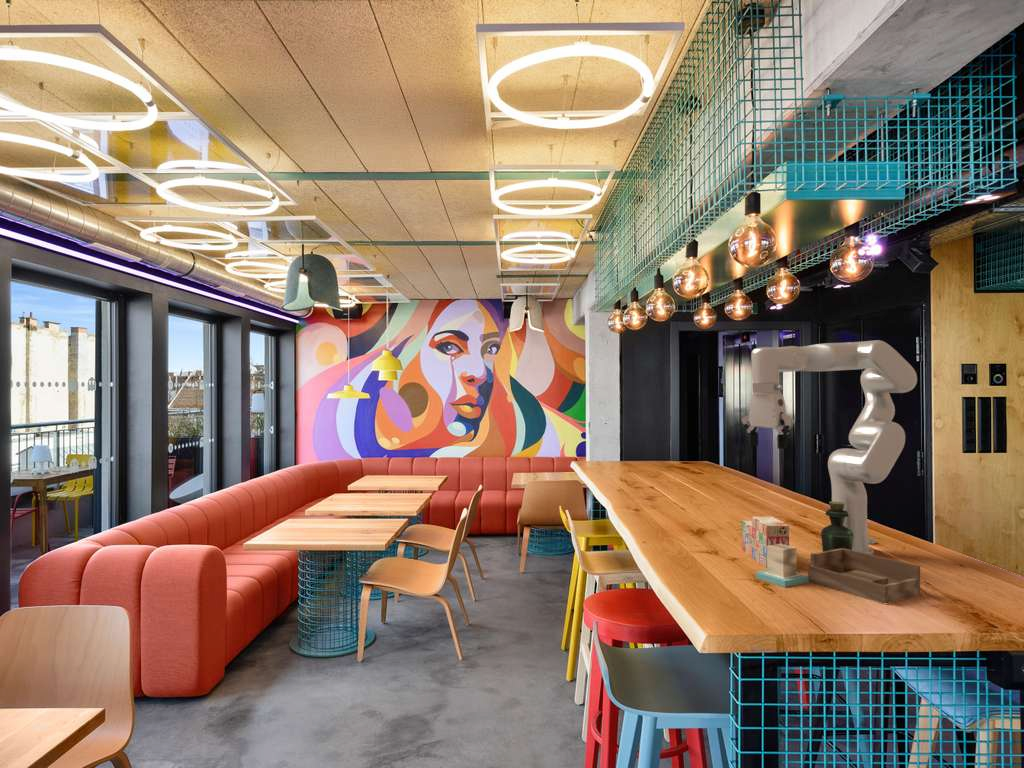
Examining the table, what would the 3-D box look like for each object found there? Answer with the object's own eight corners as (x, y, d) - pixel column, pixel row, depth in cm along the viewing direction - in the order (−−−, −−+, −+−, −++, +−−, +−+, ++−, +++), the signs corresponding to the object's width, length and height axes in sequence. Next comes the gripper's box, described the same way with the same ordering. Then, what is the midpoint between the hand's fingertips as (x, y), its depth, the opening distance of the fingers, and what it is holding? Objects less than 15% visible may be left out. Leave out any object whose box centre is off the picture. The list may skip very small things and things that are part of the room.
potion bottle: (815, 563, 179) (815, 500, 180) (843, 563, 179) (843, 500, 180) (830, 571, 171) (829, 505, 172) (859, 571, 171) (859, 505, 172)
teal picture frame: (778, 573, 169) (778, 567, 169) (808, 582, 161) (808, 575, 161) (755, 577, 165) (755, 571, 165) (784, 587, 157) (784, 580, 157)
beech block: (780, 570, 167) (780, 543, 167) (796, 575, 162) (796, 547, 162) (767, 572, 164) (767, 545, 164) (783, 577, 160) (783, 549, 160)
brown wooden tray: (842, 574, 169) (842, 548, 169) (920, 595, 151) (920, 565, 151) (808, 581, 162) (807, 554, 162) (885, 604, 144) (885, 573, 144)
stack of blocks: (741, 550, 195) (741, 510, 195) (762, 550, 195) (762, 510, 195) (766, 569, 174) (766, 524, 174) (789, 569, 174) (789, 524, 174)
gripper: (800, 388, 180) (802, 448, 179) (750, 389, 195) (751, 444, 194) (783, 389, 176) (785, 450, 176) (733, 389, 191) (735, 446, 191)
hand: (767, 447), depth 185 cm, fingers open, 9 cm apart
